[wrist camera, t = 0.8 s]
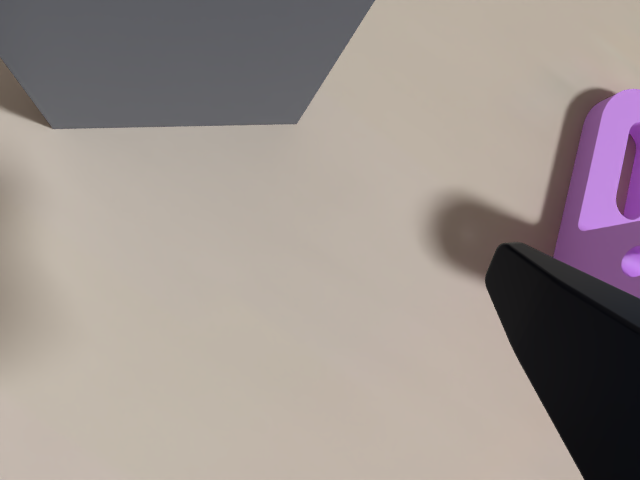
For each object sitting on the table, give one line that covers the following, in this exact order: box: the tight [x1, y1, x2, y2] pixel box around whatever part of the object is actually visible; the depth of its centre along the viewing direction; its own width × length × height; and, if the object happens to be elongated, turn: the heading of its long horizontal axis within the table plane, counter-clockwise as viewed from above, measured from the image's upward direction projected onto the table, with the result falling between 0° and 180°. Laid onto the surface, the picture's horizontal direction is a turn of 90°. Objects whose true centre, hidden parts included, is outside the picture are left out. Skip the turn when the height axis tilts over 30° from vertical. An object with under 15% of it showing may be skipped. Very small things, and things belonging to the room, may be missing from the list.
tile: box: [0, 0, 375, 129], centre depth 14 cm, size 2×10×14 cm, turn 97°
